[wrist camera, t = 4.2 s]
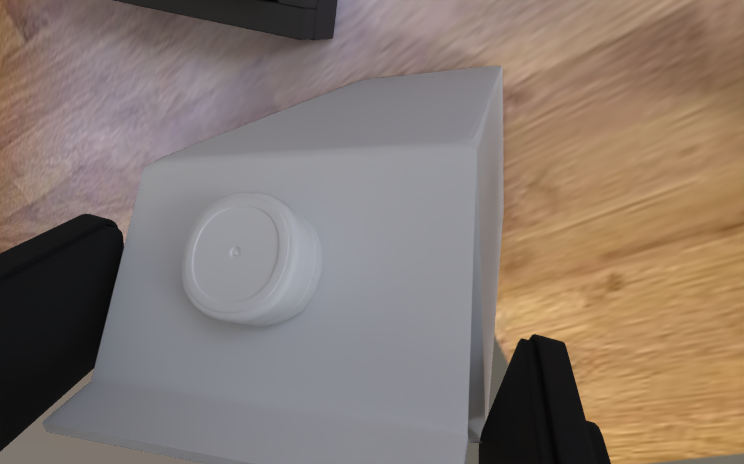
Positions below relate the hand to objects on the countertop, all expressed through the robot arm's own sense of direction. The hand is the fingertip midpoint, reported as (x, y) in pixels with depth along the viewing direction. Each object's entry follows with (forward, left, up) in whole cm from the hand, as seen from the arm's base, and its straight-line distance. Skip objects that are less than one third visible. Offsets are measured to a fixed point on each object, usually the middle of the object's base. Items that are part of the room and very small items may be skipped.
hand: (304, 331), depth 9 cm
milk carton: (-1, 0, -16) cm, 16 cm away
